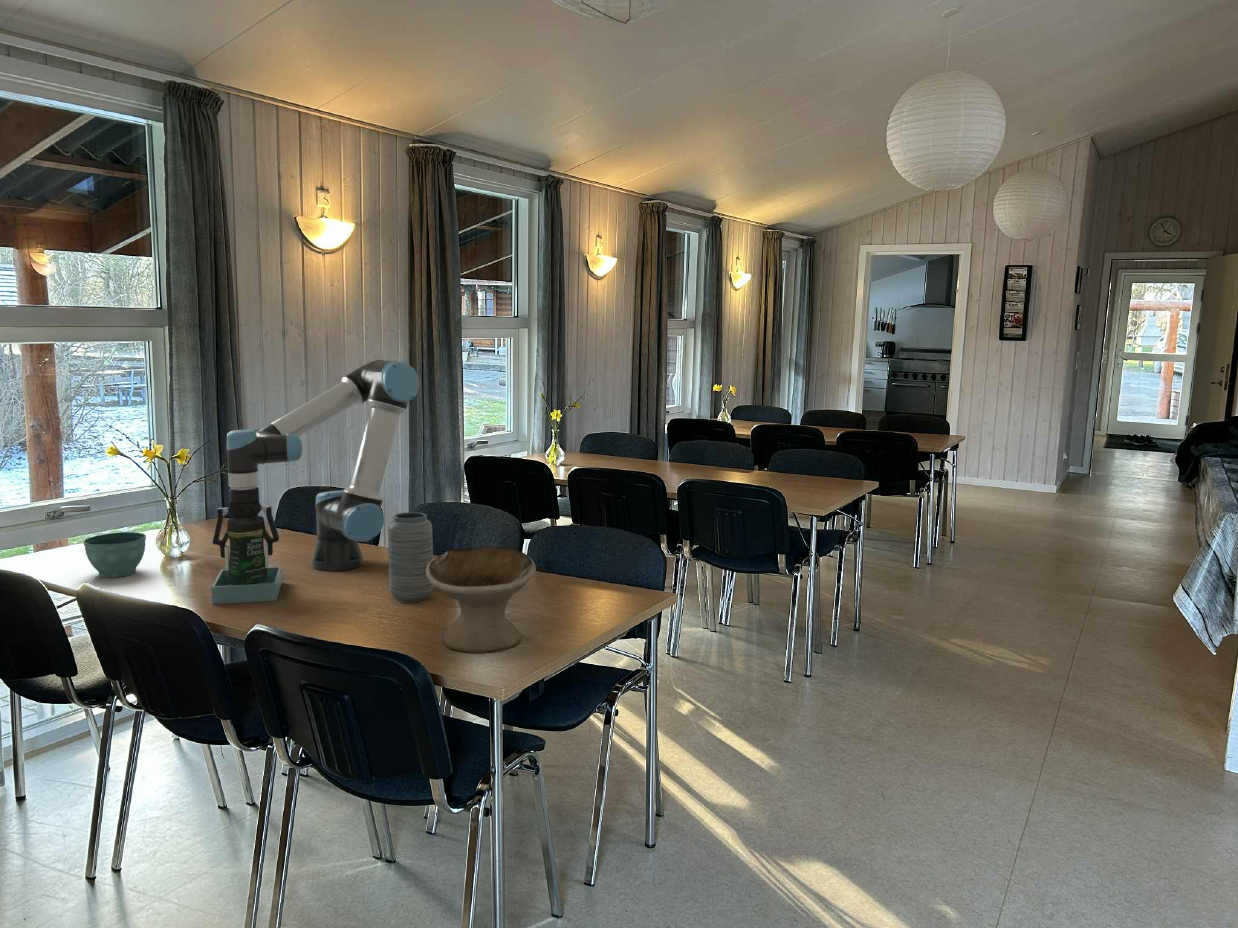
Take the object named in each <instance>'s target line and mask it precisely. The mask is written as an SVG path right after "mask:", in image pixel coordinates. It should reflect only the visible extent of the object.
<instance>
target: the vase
mask: <svg viewBox="0 0 1238 928" xmlns="http://www.w3.org/2000/svg"><path fill="white" fill-rule="evenodd" d="M392 518H393V519H392V521H390V522H389V524H388V527H387V538H388V540H387V541H388V585H389V589H388V590H389V593H390V594H391V596H392V597H394V598H395V601H397V602H400V603H406V604H407V603H408V604H410V603H411V604H412V603H420V602H422V601H426V600H427V599H428V598H429V596H430V595H431V594H432V592H433V589H434V587H433V586H432V585H431V584H430V582H429V580H428V578H427V576H426V568H427V565H428V563H429V562H430V561H431V560H433V559H434V554H433V553H434V552H433V551H434V549H433V547H434V546H433V545H434V544H433V542H434V541H433V525H432V522H431V521H430V520H429V519H427V518H428V516H427V514H425V513H424V512H416V511H415V512H414V511H410V512H400V513H395V514H394V515H393V517H392Z"/></svg>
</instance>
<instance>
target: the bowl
mask: <svg viewBox="0 0 1238 928" xmlns="http://www.w3.org/2000/svg"><path fill="white" fill-rule="evenodd" d="M536 570H537V567H536V564H535V562H534V560H533V559H532V558H531V557H530V556H529V555H528V554H527V553H525V552H523V551H521V550H518V549H516V548H515V549H514V548H507V547H500V546H479V547H467V548H465V547H464V548H454V549H451V550H447V551H445V552H444V554H440V555H438V556H436V557H433V560H431V561H430V562H429V563H428V565H427V568H426V576H427V578H428V580H429V582H430V584H431V585H432V586H433V589H435V590H437V592H439V593H441V594H442V595H443V596H445V597H447V598H450V599H451V600H456V601H457V602H458V606H459V609H460V615H459V617H458V618H457V619H456V620H454V621H453V622H452V623H451V624H450V626H449V627H448V628H447V629H446V631H445V633H444V634H443V635H444V636H443V638H442V640H443V644H444V645H445V646H446V648H448V649H451V650H454V651H457V652H462V653H471V654H484V653H485V652H486V653H492V652H498V651H497V650H499V651H504V650H506V649H507V648H508V649H509V647H510V648H512V646H513V647H514V645H515V646H517V645H518V644H520V643H519V642H521V641H522V636H521V633H520V631H519V630H518V627H517V626H516V625H515V624H514V623H512V621H509V619H507V617H506V614H505V613H506V608H507V606H508V602H509V600H510V598H511V597H513V595H515V594H516V593H518V592H519V591H520V590H521V589H523V587H524V586H526V584H527V583H528V582H529V581H530V580H531V579H532V578H533V577H534V575H535V573H536ZM516 644H517V645H516ZM503 649H504V650H503ZM486 653H485V654H486Z"/></svg>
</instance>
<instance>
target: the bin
mask: <svg viewBox="0 0 1238 928" xmlns="http://www.w3.org/2000/svg"><path fill="white" fill-rule="evenodd" d="M282 571H283V570H282V566H273V567H269V568H267V577H268V578H267V580H266V581H265V582H261V583H257V584H249V585H232V584H231V583H230V582H229V570H226V569H220V571H219V573H218V574H217V576H216V578H215V580H214V582H213V584H212V585H211V602H212V603H211V604H212V605H220V604H222V605H223V604H238V603H252V602H253V603H254V602H255V603H256V602H269V601H278V597H279V594H280V591H281V587H282V583H283V576H282Z"/></svg>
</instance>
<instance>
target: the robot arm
mask: <svg viewBox="0 0 1238 928" xmlns="http://www.w3.org/2000/svg"><path fill="white" fill-rule="evenodd" d="M419 391H420V378H419V376H418V373H417V371H416V369H415V368H414V367H412V366H411V365H410V364H408V363H405V362H402V361H398V360H384V359H383V360H382V359H376V360H372V361H369V362H367V363H365V364H363V365H362V366H360V367H358V368H357V369H355V370H352V372H351V371H350V373H348V374H346V375H345V376H343V377H342V378H341V381H340V383H339V382H338V384H335V385H334V386H332V387H330V388H329V389H327V390H326V391H324V392H322V393H320V394H319V395H317V396H315V397H313V398H312V399H310V400H309V401H306V402H305V403H304V404H302V405H300V406H299V407H297V408H295V409H293V410H291V411H290V412H288V413H286V414H285V415H283V416H281V417H280V418H278V419H276V420H274V421H273V422H271V423H270V424H267V425H266V426H264V427H262V428H260V429H236V430H231V431H229V432H227V434H226V447H225V448H226V455H227V456H226V457H227V470H228V471H227V477H228V479H227V480H228V487H229V490H228V496H229V504H228V507H219V508H217V510H216V511H217V520H216V521H217V522H216V526H215V528H214V529H215V530H214V533H213V534H214V535H213V539H212V545H217V546H218V547H219V548H220V549H219V550H220V551H219V552H220V557H221V558H222V559H224V563H225V564H224V565H225V570H229V564H230V544H226V543H227V542H228V540H229V536H228V534H227V530H226V531H225V533H224V534H223V537H222V539H220V535H221V532H222V528H223V527H222V526H223V524H224V520H225V516H226V515H227V514H228V513H230V515H231V516H232V517H233V519H237V518H241V517H245V518H250V519H252V520H254V521H258V519H257V518H256V516H257V515H258V516H259V513H261V511H262V512H263V515H266V519H267V523H268V526H269V528H270V529H269V530H270V532H271V535H272V537H271V535H270V533H269V532H268V530H267V529H266V530H265V529H264V528H263V537H264V539H263V540H265V543H264V554H265V568H269V564H270V556H272V555H273V554H274V547H273V546H274V545H273V544H274V543H277V542H279V540H280V534H279V533H278V529H277V527H276V523H275V519H274V516H273V514H272V513H273V506H272V505H267V506H263V505H261V502H260V488H259V487H258V486H259V484H260V483H259V482H260V481H259V465H264V464H277V463H290V462H296V461H299V460H300V459H301V458H302V454H303V443H302V440H301V439H300V437H302V436H304V435H305V434H306V433H308V432H310V431H311V430H314V429H315V428H316V427H319V426H320V425H322V424H323V423H325V422H327V421H329V420H330V419H332V418H333V417H335V416H338V415H339V414H340V413H342V412H344V411H345V410H347V409H349V408H351V406H353V405H362V404H363V403H366V402H368V405H369V406H370V407H369V408H370V409H369V414H368V417H367V420H366V425H365V429H364V431H363V435H362V440H361V444H360V446H359V447H360V448H359V451H358V455H357V458H356V462H355V465H354V470H353V474H352V477H351V481H350V485H349V486H347V487H346V488H343V490H331V491H324V492H323V491H322V492H319V493H317V494H316V497H315V504H314V505H315V518H316V519H315V521H316V543H315V544H316V545H315V548H314V549H313V550H314V551H313V554H312V557H311V567H312V568H313V569H316V570H319V571H328V572H329V571H345V570H351V569H355V568H359V567H361V566H363V564H364V555H363V552H362V550H361V548H360V547H361V546H360V544H359V542H368V541H370V540H373V539H374V538H375V537H377V536H378V535H379V534H380V533H381V531H382V529H383V526H384V524H385V517H384V513H383V511H382V509H381V507H382V505H383V504H382V503H383V497H382V495H381V494H380V491H381V486H382V483H383V479H384V475H385V472H386V468H387V464H388V461H389V457H390V453H391V449H392V445H393V442H394V441H393V440H394V438H395V433H396V429H397V425H398V423H399V418H400V415H402V414H403V413H404V412H407V408H408V405H409V401H412V399H414V398H415V397H416V396H417V394H418V393H419Z"/></svg>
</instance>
